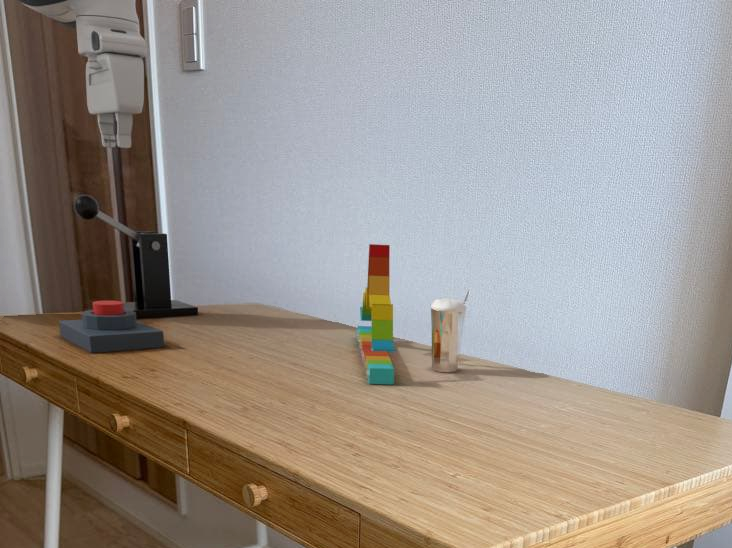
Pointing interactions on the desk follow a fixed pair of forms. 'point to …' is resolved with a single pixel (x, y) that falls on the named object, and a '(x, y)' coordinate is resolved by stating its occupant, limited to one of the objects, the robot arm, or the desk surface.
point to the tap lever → (99, 215)
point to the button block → (111, 332)
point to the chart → (377, 319)
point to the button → (108, 308)
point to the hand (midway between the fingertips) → (116, 147)
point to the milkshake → (447, 333)
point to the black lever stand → (153, 279)
